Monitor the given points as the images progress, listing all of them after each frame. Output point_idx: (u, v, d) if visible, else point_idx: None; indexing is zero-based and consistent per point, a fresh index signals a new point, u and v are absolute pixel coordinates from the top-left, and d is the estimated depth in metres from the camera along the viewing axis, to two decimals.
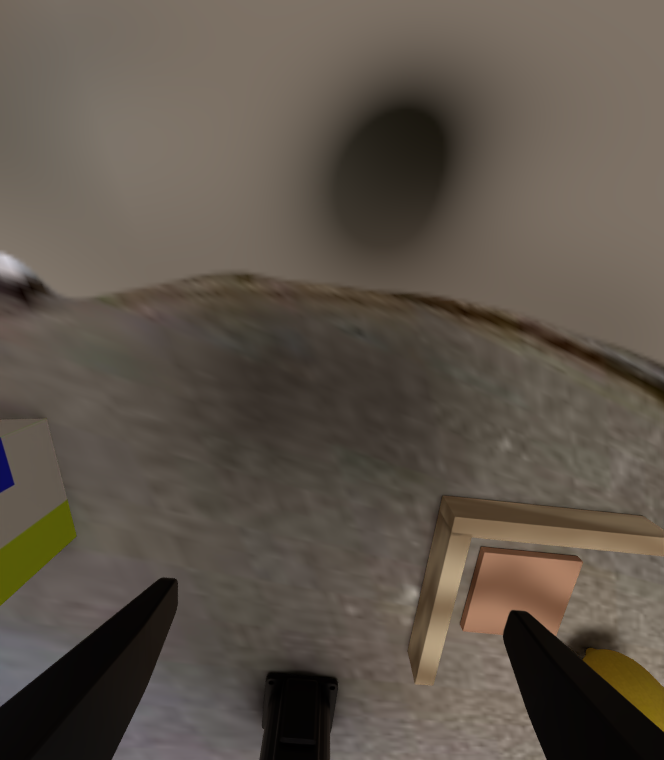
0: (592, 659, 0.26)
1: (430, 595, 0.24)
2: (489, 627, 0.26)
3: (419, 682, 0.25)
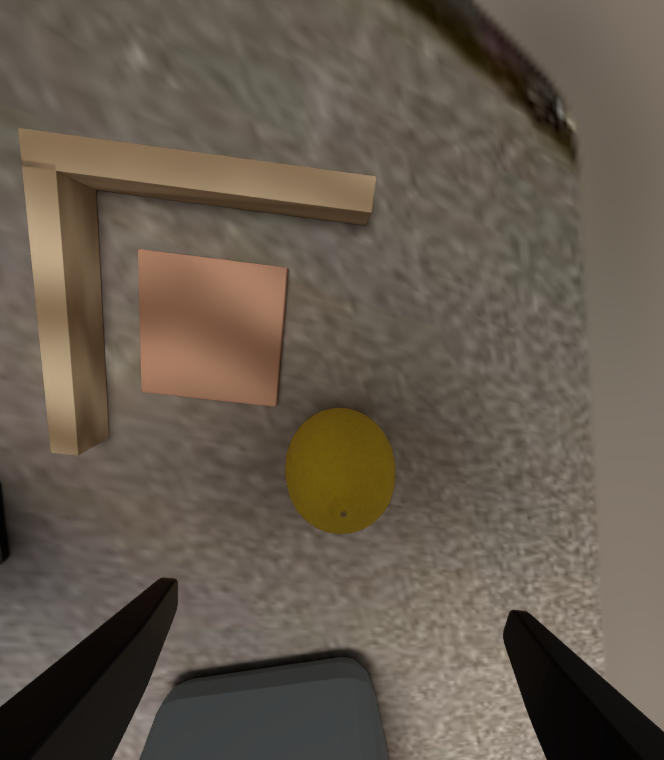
0: None
1: None
2: (178, 385, 0.19)
3: (56, 449, 0.17)
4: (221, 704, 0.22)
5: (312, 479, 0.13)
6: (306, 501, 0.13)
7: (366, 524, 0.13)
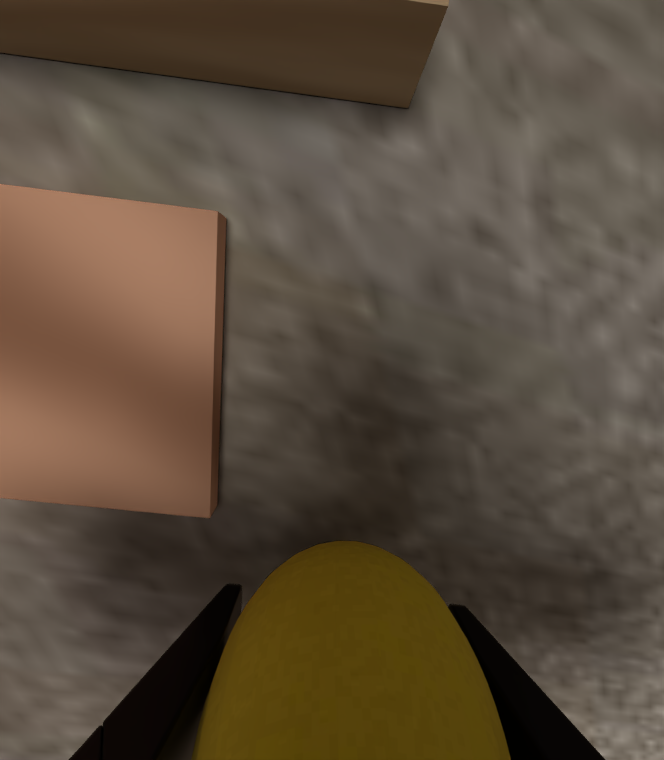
0: (280, 565, 0.08)
1: None
2: None
3: None
4: None
5: None
6: None
7: None
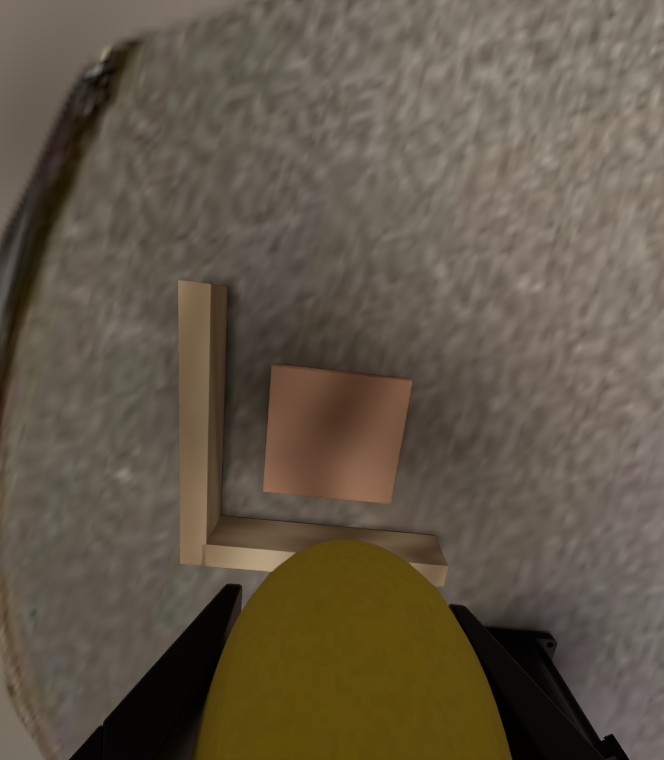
0: (280, 564, 0.08)
1: None
2: (385, 472, 0.19)
3: (441, 581, 0.19)
4: None
5: None
6: None
7: None
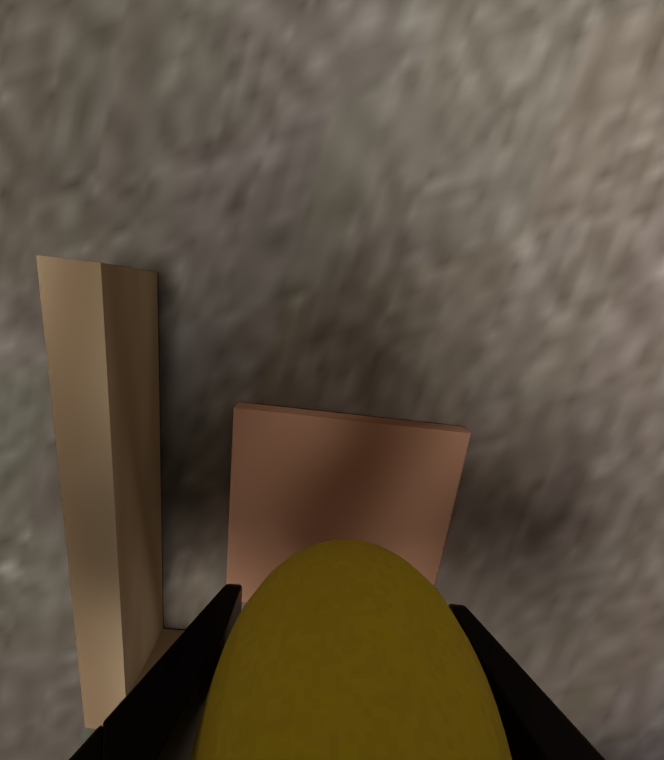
0: (280, 564, 0.08)
1: None
2: (420, 572, 0.12)
3: None
4: None
5: None
6: None
7: None
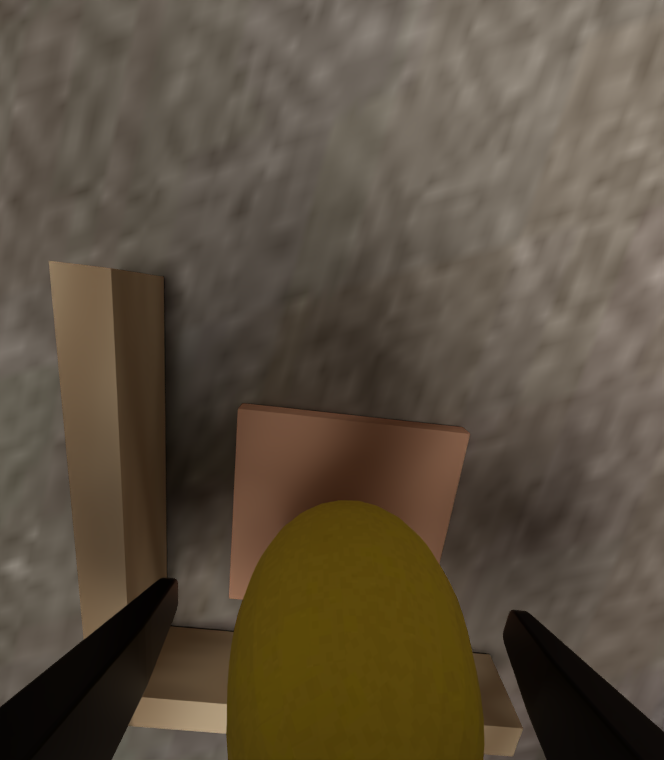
0: None
1: None
2: None
3: (509, 749, 0.12)
4: None
5: None
6: None
7: None
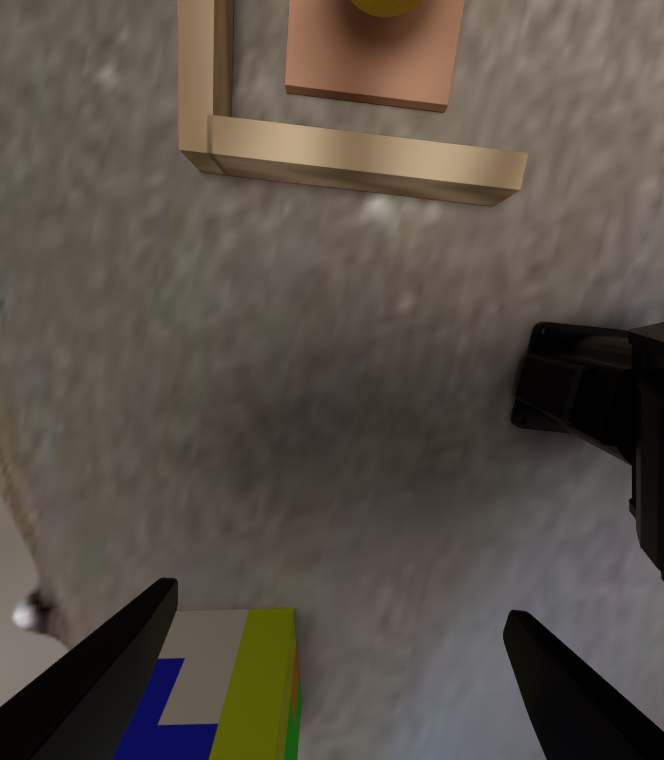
0: None
1: (347, 176, 0.15)
2: (443, 49, 0.15)
3: (517, 181, 0.14)
4: None
5: None
6: None
7: None
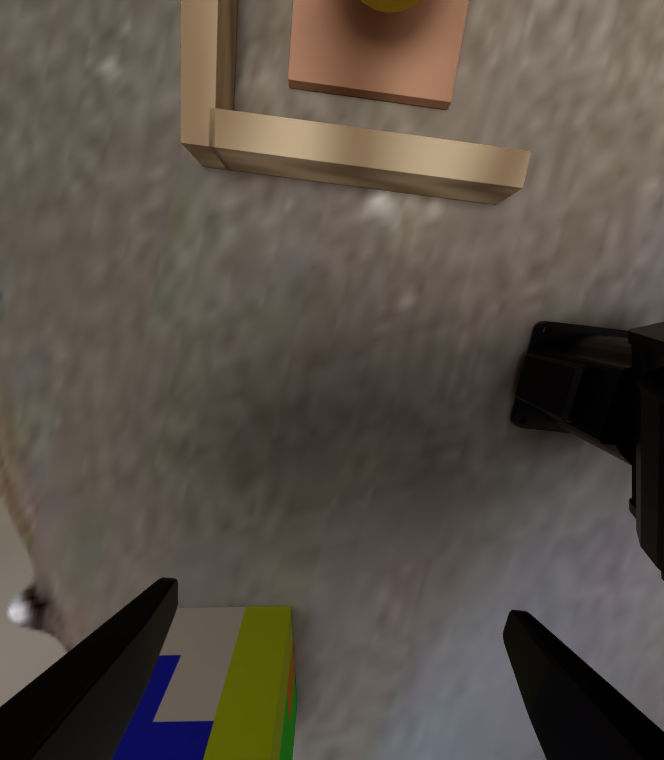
0: None
1: (350, 172, 0.15)
2: (447, 46, 0.15)
3: (520, 179, 0.14)
4: None
5: None
6: None
7: None
